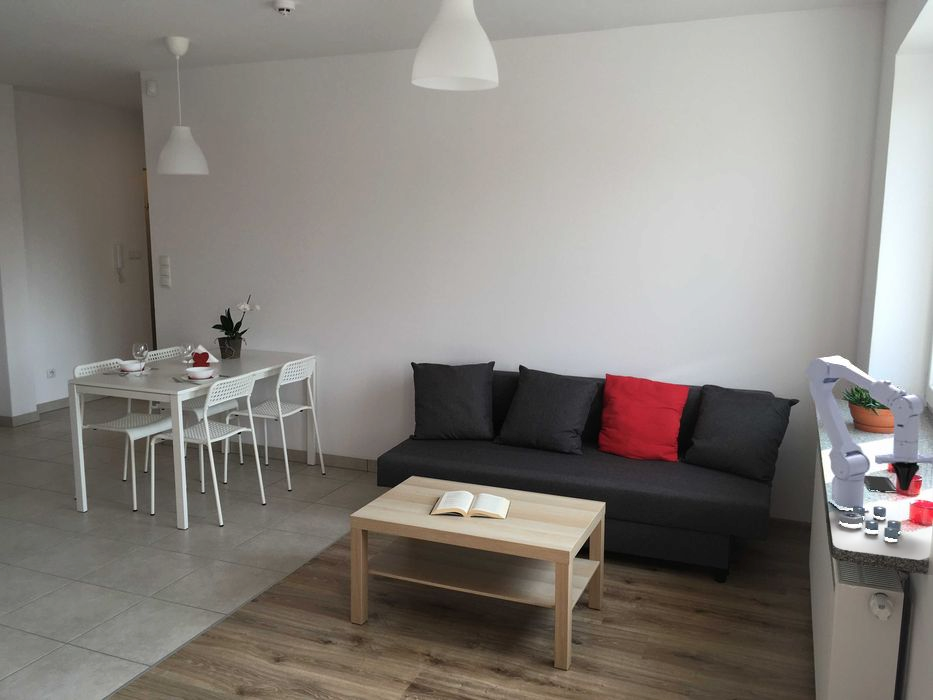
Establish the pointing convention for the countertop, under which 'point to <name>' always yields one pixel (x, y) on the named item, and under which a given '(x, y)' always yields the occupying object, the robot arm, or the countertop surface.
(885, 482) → the phone
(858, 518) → the hex nut
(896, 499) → the countertop surface
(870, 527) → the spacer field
